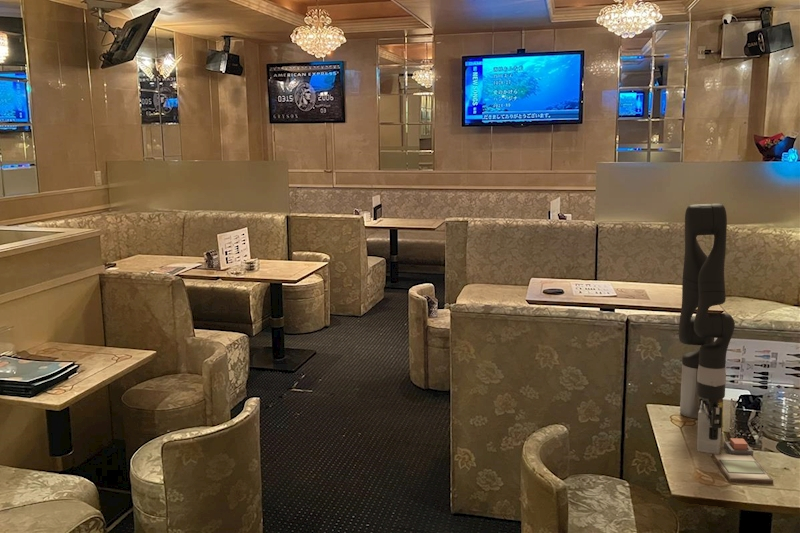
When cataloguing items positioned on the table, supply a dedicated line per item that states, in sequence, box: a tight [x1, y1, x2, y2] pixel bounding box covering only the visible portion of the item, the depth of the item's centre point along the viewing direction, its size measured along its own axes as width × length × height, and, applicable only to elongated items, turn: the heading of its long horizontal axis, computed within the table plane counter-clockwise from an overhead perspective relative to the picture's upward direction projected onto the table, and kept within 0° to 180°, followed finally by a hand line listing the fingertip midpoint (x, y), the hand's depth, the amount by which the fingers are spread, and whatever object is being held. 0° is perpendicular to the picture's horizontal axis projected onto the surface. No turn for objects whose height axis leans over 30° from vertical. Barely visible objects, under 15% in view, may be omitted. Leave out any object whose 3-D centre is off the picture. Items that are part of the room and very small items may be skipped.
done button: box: [729, 437, 749, 450], centre depth 194 cm, size 4×4×2 cm
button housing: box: [723, 441, 754, 457], centre depth 194 cm, size 6×6×2 cm
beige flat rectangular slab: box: [710, 453, 774, 485], centre depth 184 cm, size 15×11×1 cm
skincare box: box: [696, 408, 722, 454], centre depth 196 cm, size 6×4×12 cm
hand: (708, 433), depth 196 cm, fingers open, 8 cm apart
